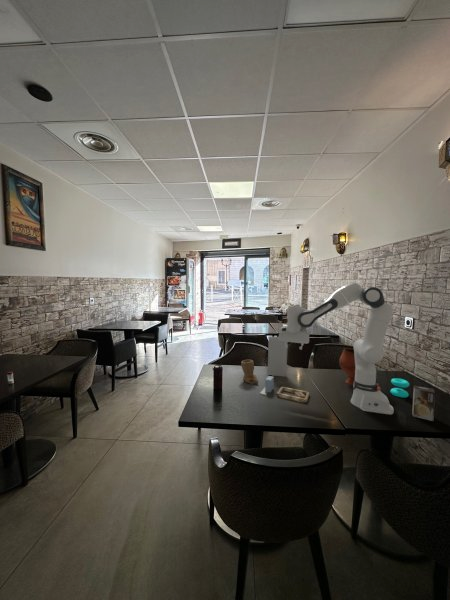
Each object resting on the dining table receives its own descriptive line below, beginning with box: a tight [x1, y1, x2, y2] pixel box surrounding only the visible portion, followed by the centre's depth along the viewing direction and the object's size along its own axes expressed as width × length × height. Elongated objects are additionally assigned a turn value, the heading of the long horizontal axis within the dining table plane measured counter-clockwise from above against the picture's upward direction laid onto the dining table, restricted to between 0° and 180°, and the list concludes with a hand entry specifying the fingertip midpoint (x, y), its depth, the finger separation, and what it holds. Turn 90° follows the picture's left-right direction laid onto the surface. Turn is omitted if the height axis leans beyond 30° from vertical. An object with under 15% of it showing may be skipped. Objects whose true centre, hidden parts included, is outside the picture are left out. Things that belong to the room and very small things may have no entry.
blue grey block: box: [264, 375, 275, 394], centre depth 168 cm, size 4×7×9 cm, turn 153°
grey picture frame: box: [411, 385, 436, 422], centre depth 141 cm, size 9×6×16 cm
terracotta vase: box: [338, 347, 355, 386], centre depth 186 cm, size 19×19×25 cm
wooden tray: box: [276, 386, 310, 404], centre depth 161 cm, size 18×12×4 cm, turn 63°
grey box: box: [266, 336, 289, 377], centre depth 200 cm, size 14×6×30 cm, turn 84°
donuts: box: [389, 378, 410, 399], centre depth 169 cm, size 10×10×10 cm
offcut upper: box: [294, 392, 306, 398], centre depth 159 cm, size 4×6×2 cm
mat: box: [259, 387, 268, 396], centre depth 169 cm, size 9×12×1 cm
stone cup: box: [241, 359, 259, 385], centre depth 187 cm, size 15×12×15 cm
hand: (293, 348), depth 172 cm, fingers open, 8 cm apart
